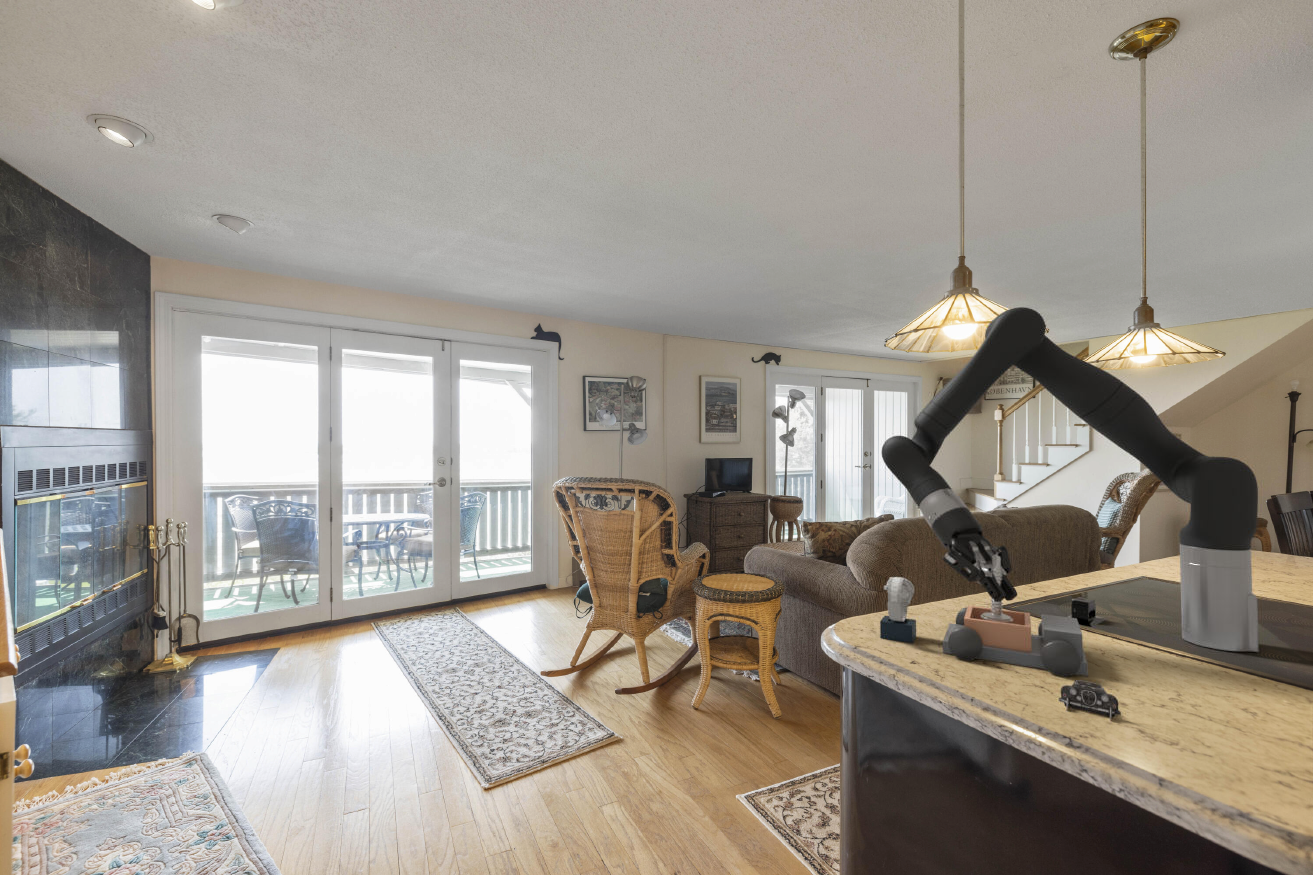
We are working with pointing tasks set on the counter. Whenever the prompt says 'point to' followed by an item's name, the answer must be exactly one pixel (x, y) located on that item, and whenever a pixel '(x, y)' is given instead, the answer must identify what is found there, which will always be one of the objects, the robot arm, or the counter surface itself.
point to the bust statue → (898, 612)
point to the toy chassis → (1018, 641)
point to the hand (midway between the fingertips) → (1007, 598)
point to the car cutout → (1089, 698)
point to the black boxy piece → (1085, 612)
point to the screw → (995, 606)
